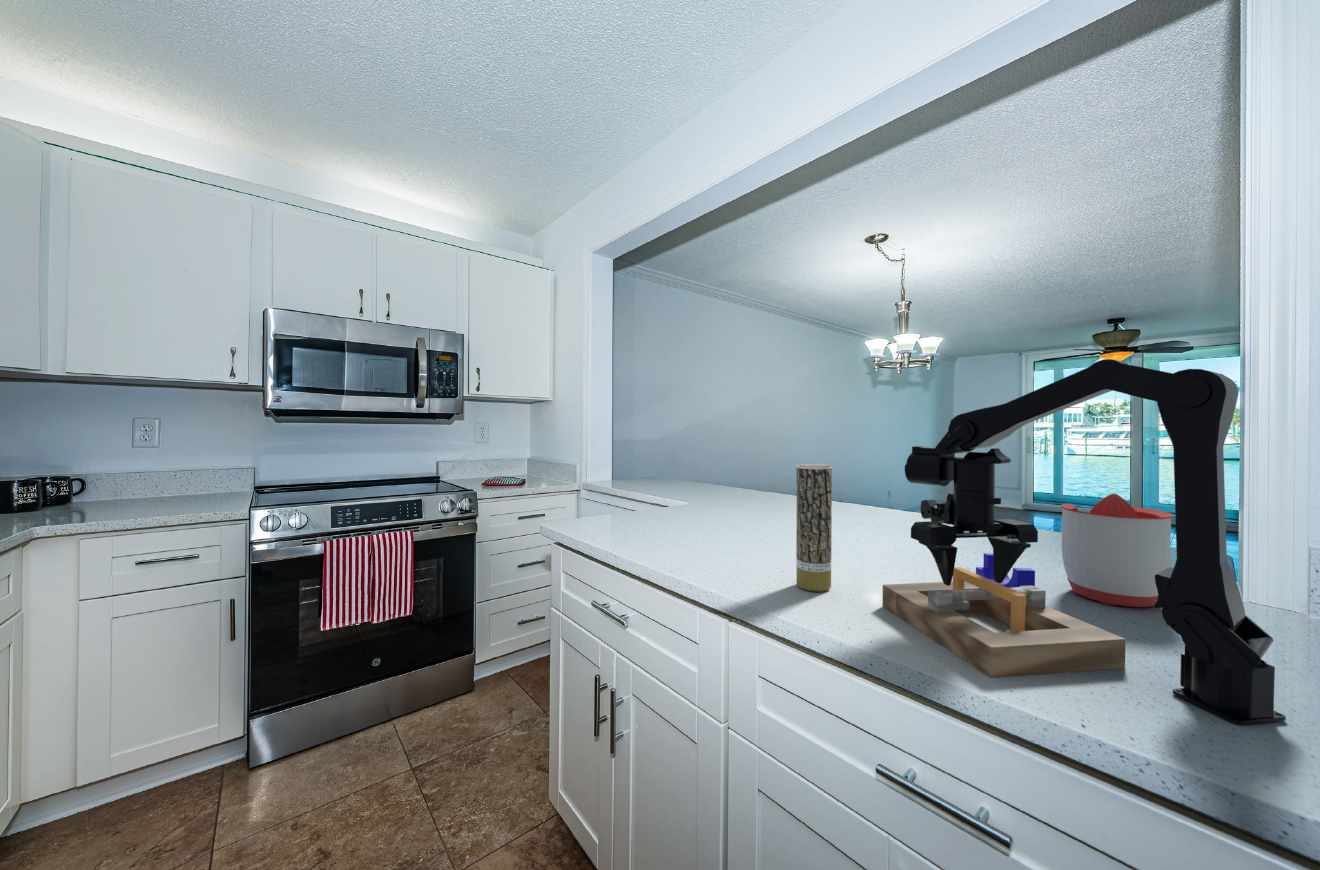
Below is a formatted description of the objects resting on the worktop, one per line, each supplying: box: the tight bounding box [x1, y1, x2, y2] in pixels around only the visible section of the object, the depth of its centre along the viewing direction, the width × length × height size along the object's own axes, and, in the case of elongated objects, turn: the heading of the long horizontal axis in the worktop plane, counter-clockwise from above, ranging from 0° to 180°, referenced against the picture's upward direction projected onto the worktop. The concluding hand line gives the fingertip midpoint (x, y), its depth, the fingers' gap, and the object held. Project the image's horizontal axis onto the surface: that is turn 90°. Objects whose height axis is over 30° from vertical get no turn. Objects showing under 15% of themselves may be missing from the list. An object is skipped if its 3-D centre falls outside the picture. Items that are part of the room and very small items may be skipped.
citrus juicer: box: [1060, 493, 1174, 608], centre depth 93 cm, size 16×17×20 cm
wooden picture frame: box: [882, 581, 1126, 678], centre depth 77 cm, size 25×20×7 cm
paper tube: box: [795, 463, 833, 593], centre depth 99 cm, size 7×7×25 cm
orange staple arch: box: [952, 566, 1026, 632], centre depth 78 cm, size 14×3×7 cm, turn 7°
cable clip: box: [975, 552, 1036, 588], centre depth 97 cm, size 12×4×6 cm, turn 173°
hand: (972, 583), depth 80 cm, fingers open, 9 cm apart
